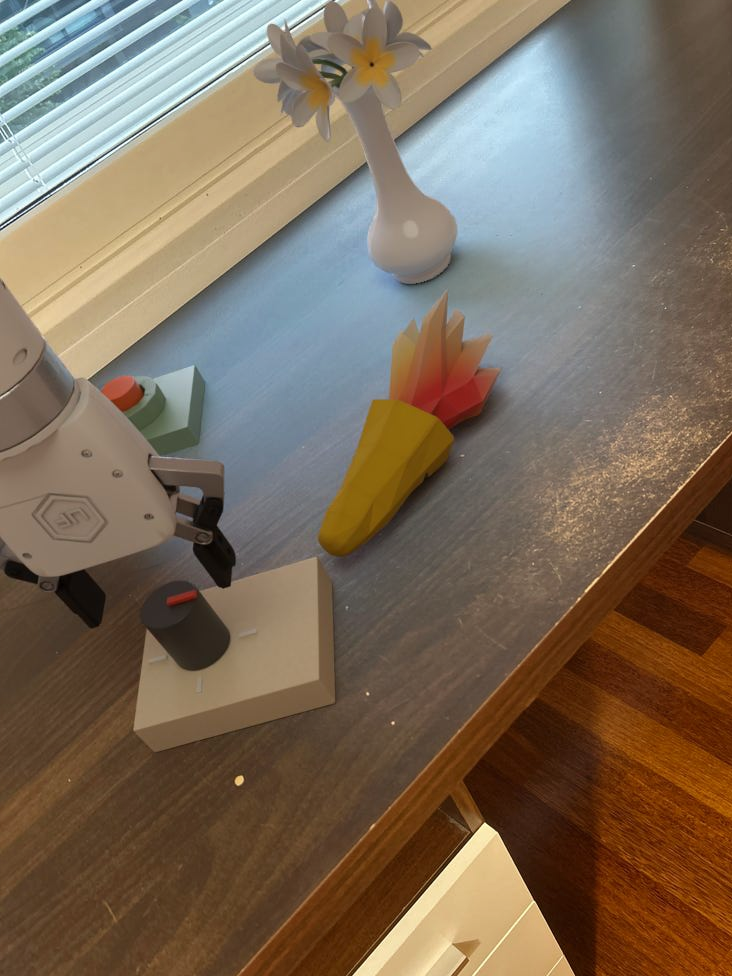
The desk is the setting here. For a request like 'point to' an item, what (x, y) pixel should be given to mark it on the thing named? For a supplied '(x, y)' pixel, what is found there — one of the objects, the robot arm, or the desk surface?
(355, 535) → the torch
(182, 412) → the button box
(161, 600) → the knob
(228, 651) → the panel
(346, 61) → the flower vase
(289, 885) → the desk surface
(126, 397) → the button
